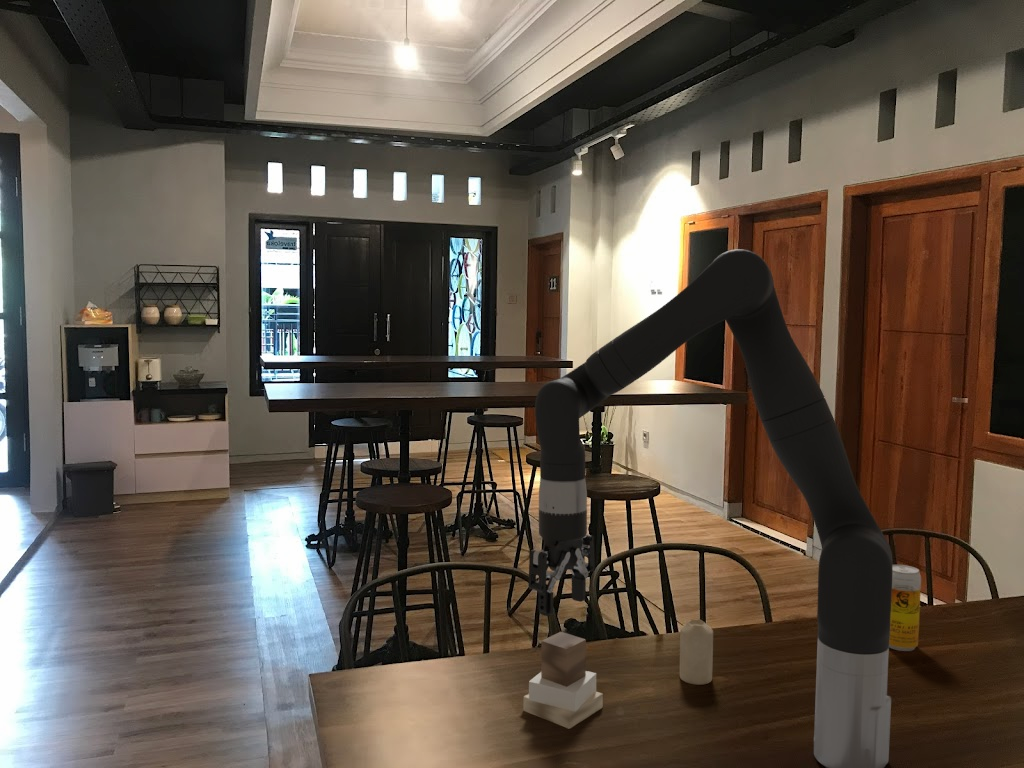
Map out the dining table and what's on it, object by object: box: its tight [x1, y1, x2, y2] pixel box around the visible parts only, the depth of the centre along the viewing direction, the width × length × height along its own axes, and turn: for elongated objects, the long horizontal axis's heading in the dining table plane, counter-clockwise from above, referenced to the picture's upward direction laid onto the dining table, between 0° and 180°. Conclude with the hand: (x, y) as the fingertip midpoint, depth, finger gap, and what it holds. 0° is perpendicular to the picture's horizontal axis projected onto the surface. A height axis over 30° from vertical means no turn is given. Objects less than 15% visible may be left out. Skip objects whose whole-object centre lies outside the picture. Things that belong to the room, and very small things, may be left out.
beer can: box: [889, 564, 922, 652], centre depth 157 cm, size 6×6×15 cm
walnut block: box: [540, 631, 587, 687], centre depth 132 cm, size 5×5×6 cm
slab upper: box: [528, 670, 597, 712], centre depth 132 cm, size 8×8×3 cm
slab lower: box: [522, 690, 604, 730], centre depth 132 cm, size 9×9×3 cm
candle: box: [679, 618, 714, 686], centre depth 143 cm, size 6×6×10 cm
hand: (562, 607), depth 131 cm, fingers open, 8 cm apart
